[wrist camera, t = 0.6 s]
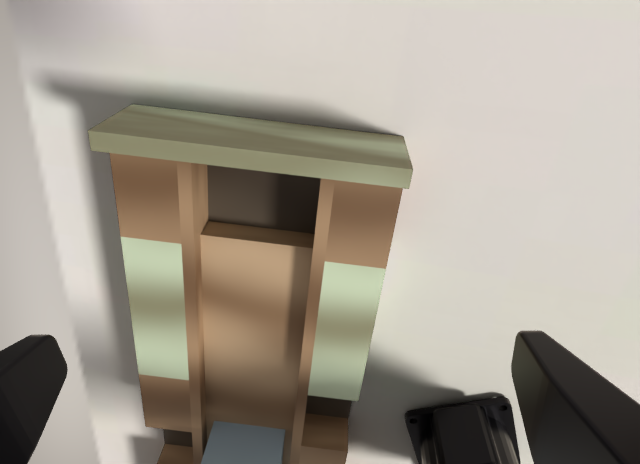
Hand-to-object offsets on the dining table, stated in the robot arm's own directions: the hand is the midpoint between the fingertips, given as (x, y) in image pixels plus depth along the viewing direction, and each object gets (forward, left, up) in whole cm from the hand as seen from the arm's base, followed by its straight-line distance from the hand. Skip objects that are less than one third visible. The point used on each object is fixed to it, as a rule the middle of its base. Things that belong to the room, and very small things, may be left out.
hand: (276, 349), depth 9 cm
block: (-19, +11, -12) cm, 25 cm away
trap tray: (-13, +8, -14) cm, 21 cm away
